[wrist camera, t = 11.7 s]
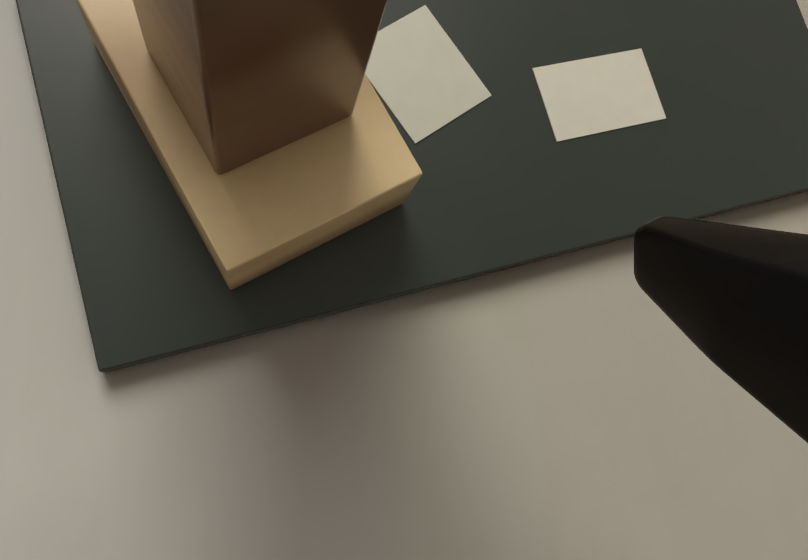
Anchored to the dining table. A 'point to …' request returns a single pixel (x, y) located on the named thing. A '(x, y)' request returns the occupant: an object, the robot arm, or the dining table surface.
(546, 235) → the slate board
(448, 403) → the dining table surface
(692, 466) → the dining table surface
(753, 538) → the dining table surface
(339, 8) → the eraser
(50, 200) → the dining table surface
